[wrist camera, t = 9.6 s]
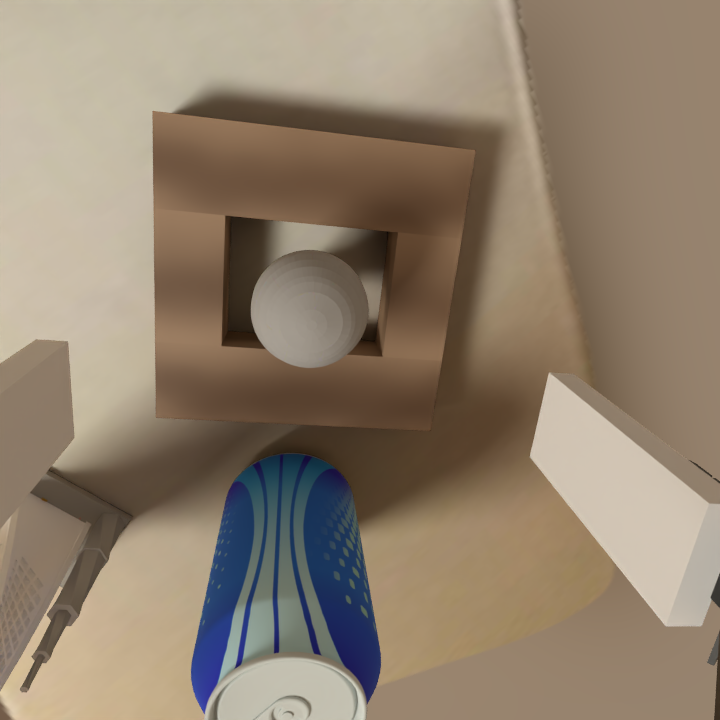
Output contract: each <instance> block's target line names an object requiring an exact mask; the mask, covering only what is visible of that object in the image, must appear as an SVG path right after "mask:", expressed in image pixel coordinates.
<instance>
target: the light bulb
mask: <svg viewBox="0 0 720 720" xmlns="http://www.w3.org/2000/svg"><path fill="white" fill-rule="evenodd" d="M368 312H369V308H368V300H367V296H366V292H365V290H364V287H363V285H362V282H361V281H360V279H359V277H358V276H357V274H356V273H355V272H354V270H353V269H352V268H351V267H350V266H349V265H348V264H347V263H345V262H344V261H343V260H341V259H340V258H338V257H336V256H334V255H331V254H329V253H326V252H322V251H316V250H303V251H296V252H292V253H289V254H287V255H284V256H282V257H281V258H279V259H277V260H276V261H274V262H273V263H272V264H271V265H269V266H268V267H267V268H266V270H265V271H264V272H263V273H262V275H261V276H260V278H259V279H258V281H257V283H256V286H255V288H254V292H253V296H252V301H251V319H252V324H253V327H254V330H255V333H256V335H257V337H258V338H259V340H260V342H261V343H262V344H263V346H264V347H265V348H266V349H267V350H268V351H269V352H270V353H271V354H272V355H274V356H275V357H277V358H278V359H280V360H282V361H284V362H286V363H288V364H291V365H294V366H298V367H303V368H317V367H323V366H327V365H330V364H332V363H334V362H336V361H338V360H340V359H342V358H343V357H344V356H346V355H347V354H348V353H349V352H350V351H352V350H353V349H354V347H355V346H356V345H357V344H358V342H359V341H360V339H361V337H362V336H363V333H364V331H365V328H366V325H367V321H368Z"/></svg>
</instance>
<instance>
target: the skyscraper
mask: <svg viewBox="0 0 720 720" xmlns="http://www.w3.org/2000/svg"><path fill="white" fill-rule="evenodd" d="M131 518H132V516H130V515H128V514H126V513H125V512H123V511H121V510H119V509H117V508H116V507H114V506H112V505H110V504H108V503H107V502H105V501H103V500H101V499H99V498H98V497H96V496H94V495H92V494H90V493H89V492H87V491H85V490H83V489H81V488H80V487H78V486H76V485H74V484H72V483H71V482H69V481H67V480H65V479H63V478H62V477H60V476H58V475H56V474H54V473H53V472H51V471H49V470H48V471H47V472H46V473H45V475H44V476H43V477H42V478H41V480H40V481H39V482H38V483H37V485H36V486H35V487H34V488H33V490H32V491H31V492H30V493H29V494H28V496H27V497H26V498H25V499H24V501H23V502H22V503H21V504H20V506H19V507H18V508H17V509H16V511H15V512H14V513H13V514H12V515H11V517H10V518H9V519H8V520H7V522H6V523H5V524H4V525H3V527H2V528H1V529H0V691H1V689H2V687H3V686H4V684H5V682H6V680H7V679H8V677H9V675H10V674H11V672H12V670H13V669H14V667H15V665H16V664H17V662H18V660H19V659H20V657H21V655H22V653H23V652H24V650H25V648H26V646H27V644H28V643H29V641H30V639H31V637H32V635H33V634H34V632H35V630H36V628H37V627H38V625H39V623H40V621H41V619H42V618H43V616H44V614H45V612H46V610H47V608H48V606H49V605H50V603H51V601H52V599H53V597H54V595H55V593H56V591H57V590H58V588H59V586H61V587H63V589H62V591H61V593H60V595H59V597H58V599H57V600H56V602H55V604H54V605H53V607H52V608H51V609H50V611H49V612H48V613H47V616H48V617H49V618H50V620H51V622H50V624H49V626H48V628H47V630H46V632H45V634H44V636H43V638H42V640H41V642H40V644H39V646H38V648H37V650H36V651H35V653H34V654H33V656H32V658H33V659H34V660H35V662H34V664H33V666H32V668H31V670H30V672H29V674H28V676H27V678H26V680H25V682H24V683H23V685H22V687H21V688H20V690H21V692H27V691H28V690H29V688H30V685H31V683H32V681H33V679H34V677H35V676H36V674H37V672H38V670H39V668H40V666H41V664H42V663H46V662H47V661H48V660H49V659H50V657H51V655H52V652H53V649H54V647H55V645H56V643H57V642H58V640H59V638H60V636H61V634H62V632H63V630H64V629H65V627H66V626H71V625H72V624H73V623H74V621H75V620H76V619H77V618H78V617H79V614H80V611H81V607H82V604H83V602H84V600H85V598H86V597H87V595H88V593H89V591H90V589H91V587H92V585H93V583H94V582H95V580H96V578H97V576H98V574H99V572H100V570H101V569H102V568H103V567H104V565H105V564H106V563H107V562H108V560H109V555H110V552H111V550H112V548H113V546H114V544H115V543H116V541H117V539H118V537H119V535H120V533H121V532H122V530H123V529H124V528H125V526H126V525H127V524H128V523H129V521H130V520H131Z"/></svg>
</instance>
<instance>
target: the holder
mask: <svg viewBox="0 0 720 720" xmlns="http://www.w3.org/2000/svg"><path fill="white" fill-rule="evenodd" d="M475 152H476V150H470V149H462V148H454V147H446V146H437V145H429V144H421V143H413V142H404V141H396V140H388V139H380V138H371V137H363V136H355V135H347V134H338V133H330V132H322V131H314V130H305V129H297V128H289V127H281V126H272V125H264V124H256V123H248V122H239V121H231V120H223V119H215V118H206V117H198V116H190V115H182V114H173V113H165V112H157V111H153V192H154V280H155V368H156V418H174V419H194V420H215V421H236V422H256V423H277V424H297V425H318V426H339V427H359V428H380V429H400V430H421V431H431V426H432V419H433V413H434V407H435V401H436V395H437V388H438V382H439V376H440V370H441V364H442V357H443V351H444V345H445V339H446V333H447V326H448V320H449V314H450V308H451V301H452V295H453V289H454V283H455V277H456V270H457V264H458V258H459V252H460V246H461V239H462V233H463V227H464V221H465V215H466V208H467V202H468V196H469V190H470V184H471V177H472V171H473V165H474V159H475ZM231 216H236V217H246V218H256V219H266V220H276V221H287V222H297V223H307V224H317V225H327V226H337V227H348V228H358V229H368V230H378V231H388V232H389V233H388V241H387V250H386V258H385V266H384V275H383V283H382V291H381V300H380V308H379V316H378V325H377V333H376V341H362V340H360V341H359V342H358V344H357V345H356V346H355V347H354V349H353V350H352V351H350V352H349V353H348V354H347V355H346V356H344V357H343V358H342V359H340V360H338V361H336V362H334V363H332V364H330V365H327V366H323V367H317V368H303V367H298V366H294V365H291V364H288V363H286V362H284V361H282V360H280V359H278V358H277V357H275V356H274V355H272V354H271V353H270V352H269V351H268V350H267V349H266V348H265V347H264V346H263V344H262V343H261V342H260V340H259V338H258V337H257V335H256V333H248V332H234V331H228V306H229V275H230V243H231Z"/></svg>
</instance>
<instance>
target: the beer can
mask: <svg viewBox="0 0 720 720" xmlns="http://www.w3.org/2000/svg"><path fill="white" fill-rule="evenodd" d="M380 668H381V653H380V646H379V641H378V635H377V629H376V624H375V618H374V612H373V606H372V601H371V595H370V589H369V584H368V578H367V572H366V566H365V561H364V555H363V549H362V544H361V538H360V532H359V526H358V521H357V515H356V509H355V504H354V498H353V494H352V491H351V488H350V486H349V484H348V482H347V481H346V479H345V478H344V476H343V475H342V474H341V473H340V472H339V471H338V470H337V469H336V468H335V467H333V466H332V465H331V464H329V463H327V462H326V461H324V460H322V459H319V458H317V457H314V456H311V455H306V454H300V453H283V454H277V455H273V456H269V457H266V458H263V459H261V460H259V461H257V462H255V463H253V464H252V465H250V466H249V467H247V468H246V469H245V470H244V471H243V472H242V473H241V474H240V475H239V476H238V477H237V478H236V480H235V481H234V482H233V484H232V486H231V487H230V490H229V492H228V494H227V497H226V501H225V506H224V511H223V516H222V520H221V525H220V530H219V535H218V539H217V544H216V549H215V554H214V559H213V563H212V568H211V573H210V578H209V582H208V587H207V592H206V597H205V601H204V606H203V611H202V616H201V620H200V625H199V630H198V635H197V639H196V644H195V649H194V654H193V658H192V667H191V680H192V686H193V690H194V693H195V697H196V699H197V701H198V703H199V705H200V707H201V709H202V710H203V712H204V714H205V718H204V720H366V717H367V704H368V702H369V700H370V698H371V696H372V694H373V692H374V690H375V688H376V685H377V682H378V678H379V674H380Z"/></svg>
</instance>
